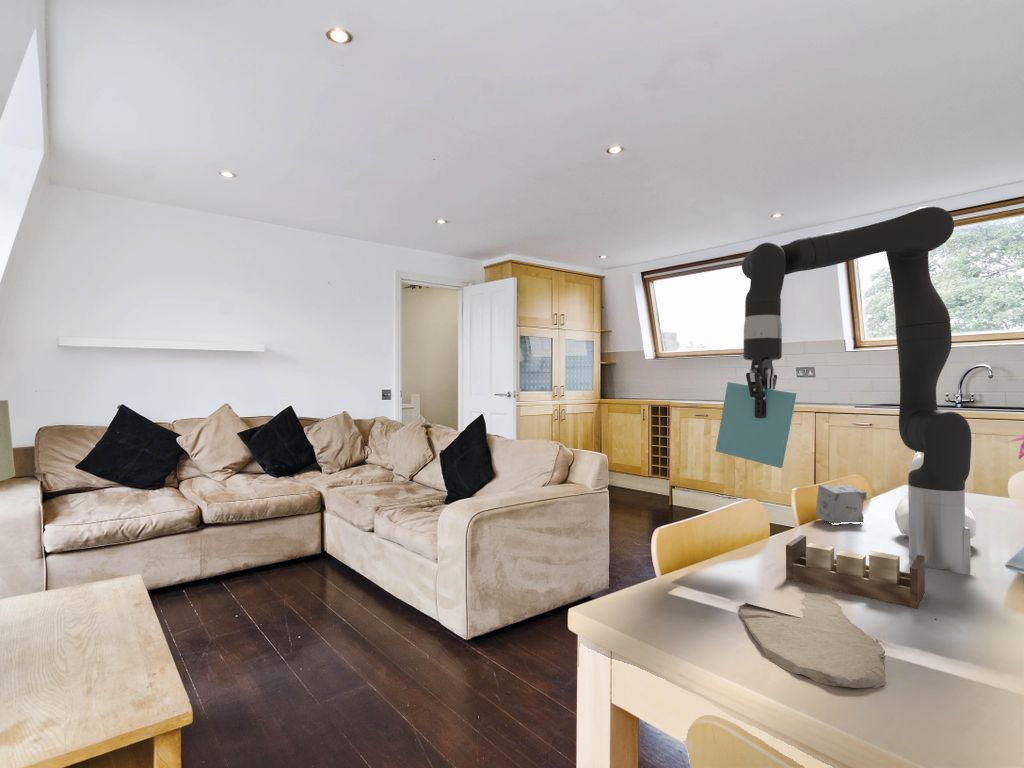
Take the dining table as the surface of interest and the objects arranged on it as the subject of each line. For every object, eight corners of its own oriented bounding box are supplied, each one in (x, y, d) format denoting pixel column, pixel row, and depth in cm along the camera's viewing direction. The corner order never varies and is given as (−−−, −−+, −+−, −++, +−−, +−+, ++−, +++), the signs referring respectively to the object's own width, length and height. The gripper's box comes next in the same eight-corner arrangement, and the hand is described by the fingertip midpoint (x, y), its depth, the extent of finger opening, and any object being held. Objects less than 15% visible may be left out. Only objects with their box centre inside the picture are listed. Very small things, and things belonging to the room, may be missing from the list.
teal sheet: (782, 467, 113) (796, 393, 111) (780, 468, 112) (794, 393, 110) (717, 450, 122) (729, 382, 120) (715, 451, 121) (727, 382, 120)
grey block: (835, 527, 145) (835, 489, 146) (814, 520, 154) (814, 484, 154) (868, 526, 147) (867, 488, 147) (845, 519, 155) (845, 483, 155)
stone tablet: (829, 605, 94) (829, 591, 94) (917, 702, 64) (917, 681, 64) (729, 598, 97) (729, 584, 97) (770, 685, 68) (769, 666, 68)
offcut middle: (865, 588, 96) (865, 555, 96) (862, 593, 94) (862, 559, 94) (840, 583, 99) (840, 550, 99) (836, 587, 97) (836, 554, 97)
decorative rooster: (975, 556, 120) (974, 446, 121) (890, 542, 131) (889, 441, 131) (977, 534, 139) (976, 438, 139) (902, 523, 149) (901, 435, 150)
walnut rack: (925, 601, 94) (924, 555, 94) (917, 618, 87) (917, 569, 87) (801, 574, 108) (801, 534, 108) (785, 587, 101) (785, 545, 101)
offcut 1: (834, 581, 100) (834, 547, 100) (830, 586, 97) (830, 550, 98) (810, 576, 102) (810, 542, 102) (806, 580, 100) (805, 546, 100)
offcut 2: (899, 596, 93) (899, 555, 93) (897, 601, 91) (896, 559, 91) (872, 590, 95) (872, 551, 96) (869, 594, 93) (868, 554, 93)
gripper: (770, 334, 108) (770, 419, 108) (790, 339, 118) (789, 417, 118) (733, 336, 113) (732, 417, 113) (755, 341, 123) (754, 416, 123)
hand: (761, 417), depth 115 cm, fingers closed on teal sheet, 1 cm apart
